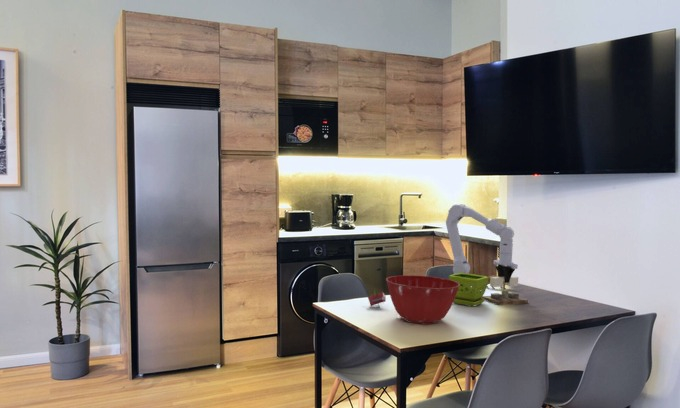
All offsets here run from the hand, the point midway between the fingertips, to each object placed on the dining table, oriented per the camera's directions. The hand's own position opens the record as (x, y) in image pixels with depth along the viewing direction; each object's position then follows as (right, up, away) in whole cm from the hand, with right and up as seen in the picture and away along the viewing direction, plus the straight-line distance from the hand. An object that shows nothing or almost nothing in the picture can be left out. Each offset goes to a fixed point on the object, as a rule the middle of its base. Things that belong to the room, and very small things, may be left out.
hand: (504, 281), depth 260 cm
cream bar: (0, -2, 0) cm, 2 cm away
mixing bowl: (-46, -9, -44) cm, 64 cm away
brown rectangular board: (0, -9, -2) cm, 9 cm away
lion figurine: (+6, -8, +32) cm, 33 cm away
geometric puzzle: (-62, -7, -23) cm, 67 cm away
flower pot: (-20, -9, -10) cm, 24 cm away
